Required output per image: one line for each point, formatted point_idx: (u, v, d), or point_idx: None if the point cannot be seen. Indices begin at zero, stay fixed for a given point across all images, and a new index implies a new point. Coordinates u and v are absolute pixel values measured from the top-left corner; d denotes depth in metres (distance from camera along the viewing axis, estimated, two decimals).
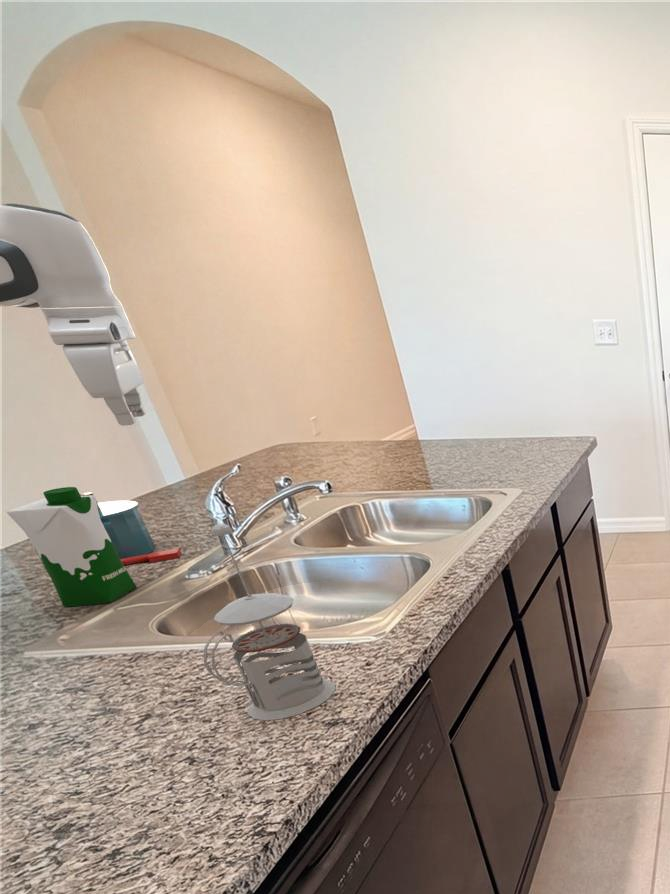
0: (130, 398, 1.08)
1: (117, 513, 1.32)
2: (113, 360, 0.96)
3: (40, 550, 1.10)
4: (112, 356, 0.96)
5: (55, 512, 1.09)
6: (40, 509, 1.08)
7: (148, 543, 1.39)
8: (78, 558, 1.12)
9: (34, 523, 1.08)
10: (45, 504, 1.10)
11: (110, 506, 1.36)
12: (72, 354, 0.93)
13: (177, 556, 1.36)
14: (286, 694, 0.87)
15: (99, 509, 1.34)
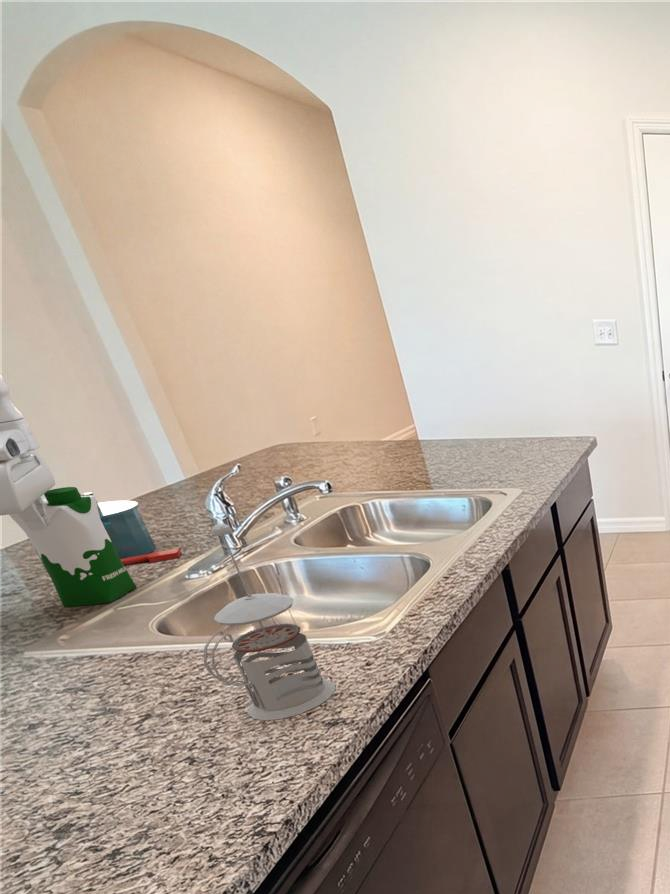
0: None
1: (117, 513, 1.32)
2: (10, 477, 0.95)
3: (40, 550, 1.10)
4: (9, 474, 0.95)
5: (55, 512, 1.09)
6: None
7: (148, 543, 1.39)
8: (78, 558, 1.12)
9: None
10: (45, 504, 1.10)
11: (110, 506, 1.36)
12: None
13: (177, 556, 1.36)
14: (286, 694, 0.87)
15: (99, 509, 1.34)
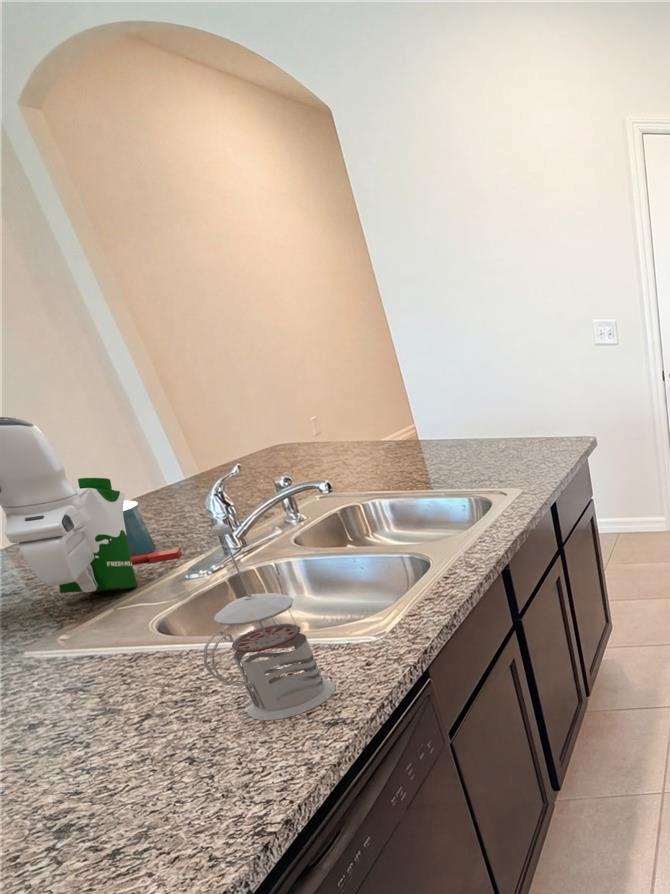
0: None
1: None
2: (65, 551, 1.05)
3: None
4: (64, 548, 1.05)
5: (83, 492, 1.14)
6: None
7: (148, 543, 1.39)
8: (90, 539, 1.15)
9: None
10: None
11: None
12: (27, 551, 1.02)
13: (177, 556, 1.36)
14: (286, 694, 0.87)
15: None
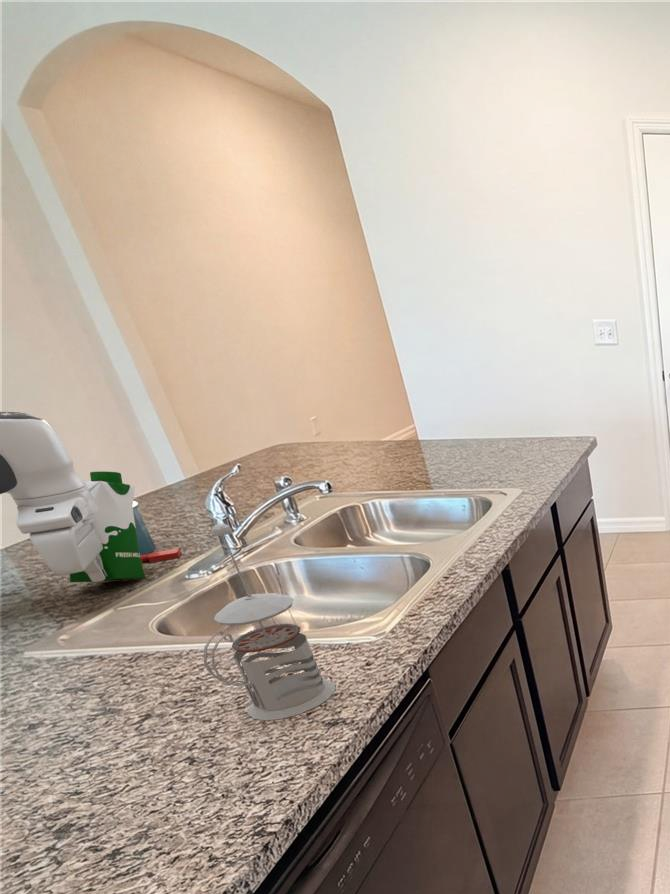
0: None
1: None
2: (75, 541, 1.08)
3: None
4: (73, 538, 1.08)
5: (94, 485, 1.18)
6: None
7: (148, 543, 1.39)
8: (100, 530, 1.19)
9: None
10: None
11: None
12: (37, 541, 1.06)
13: (177, 556, 1.36)
14: (286, 694, 0.87)
15: None
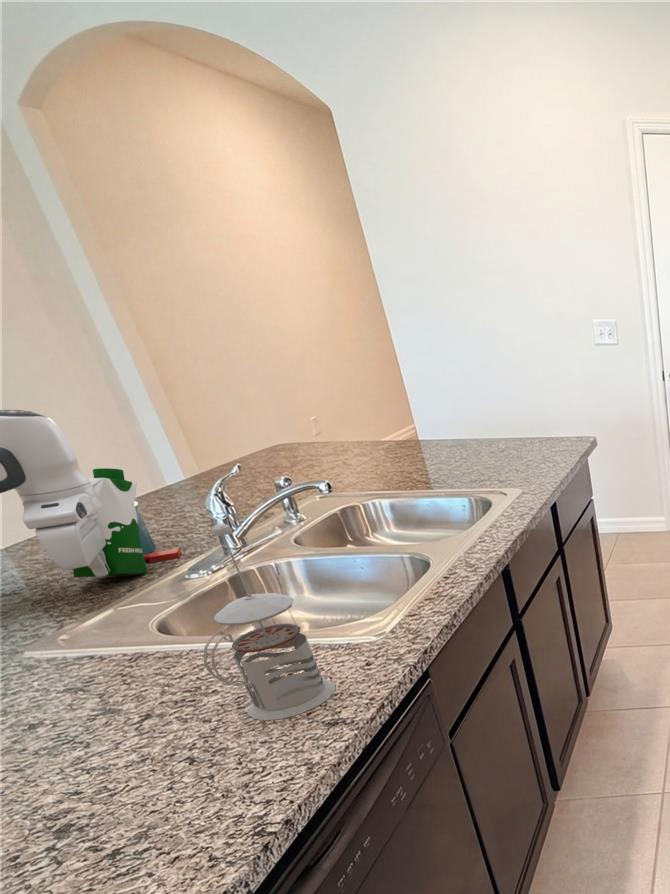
0: None
1: None
2: (80, 537, 1.11)
3: None
4: (78, 534, 1.10)
5: (97, 481, 1.20)
6: None
7: (148, 543, 1.39)
8: (103, 526, 1.21)
9: None
10: None
11: None
12: (43, 537, 1.08)
13: (177, 556, 1.36)
14: (286, 694, 0.87)
15: None
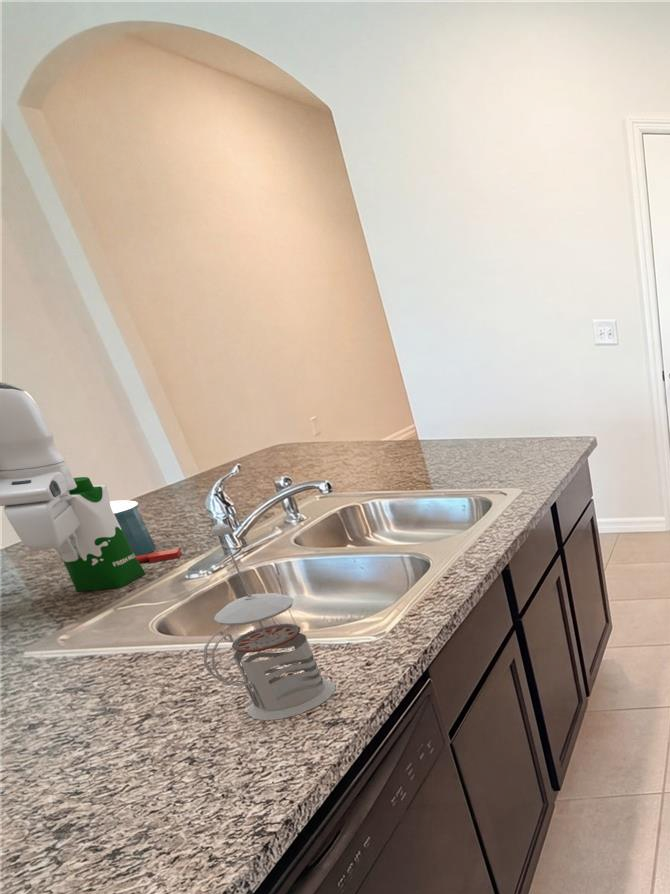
0: None
1: (117, 513, 1.32)
2: (52, 516, 1.05)
3: None
4: (50, 513, 1.05)
5: (68, 501, 1.15)
6: None
7: (148, 543, 1.39)
8: (90, 544, 1.18)
9: None
10: None
11: None
12: (12, 514, 1.02)
13: (177, 556, 1.36)
14: (286, 694, 0.87)
15: None
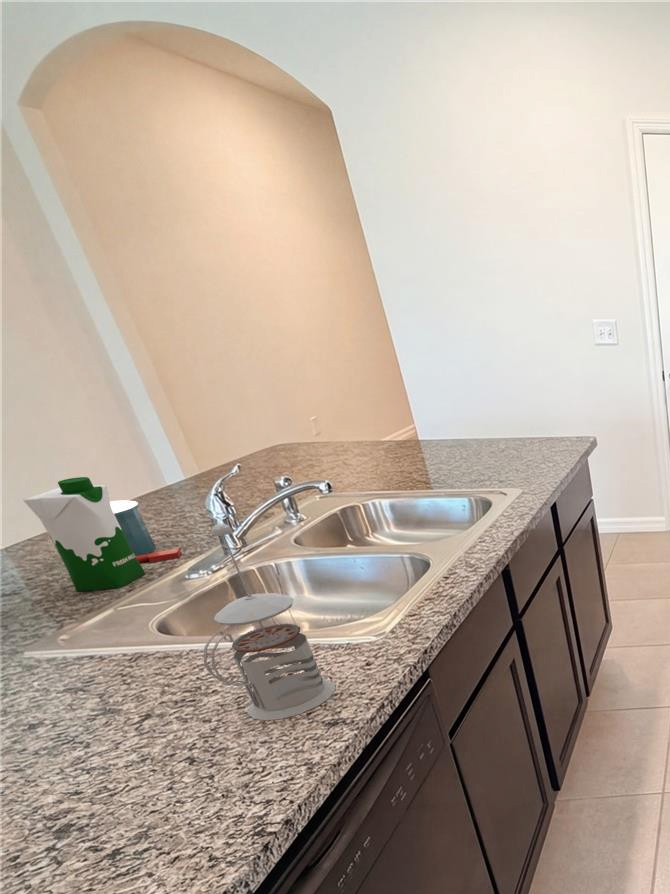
0: None
1: (117, 513, 1.32)
2: None
3: (54, 537, 1.16)
4: None
5: (69, 501, 1.15)
6: (55, 498, 1.14)
7: (148, 543, 1.39)
8: (90, 544, 1.18)
9: (49, 511, 1.14)
10: (59, 493, 1.16)
11: None
12: None
13: (177, 556, 1.36)
14: (286, 694, 0.87)
15: None
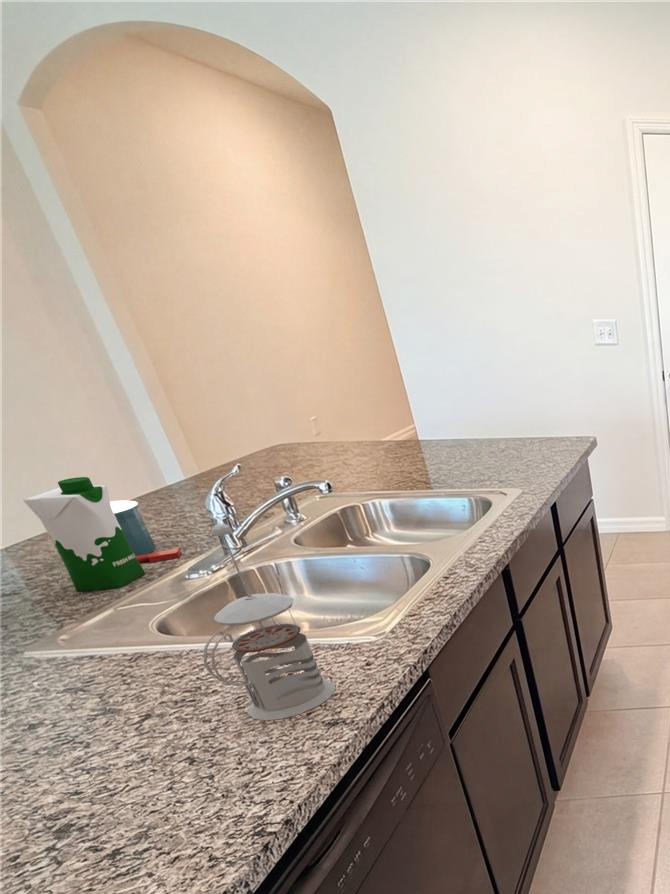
0: None
1: (117, 513, 1.32)
2: None
3: (54, 537, 1.16)
4: None
5: (69, 501, 1.15)
6: (55, 498, 1.14)
7: (148, 543, 1.39)
8: (90, 544, 1.18)
9: (49, 511, 1.14)
10: (59, 493, 1.16)
11: None
12: None
13: (177, 556, 1.36)
14: (286, 694, 0.87)
15: None
